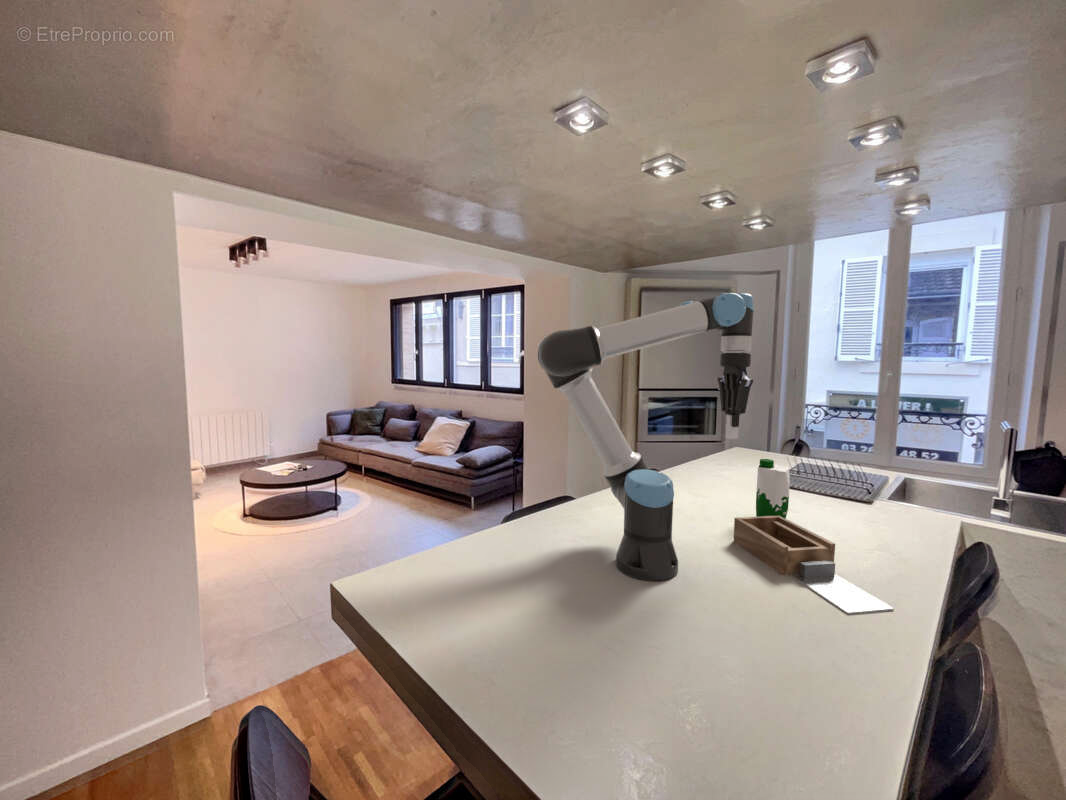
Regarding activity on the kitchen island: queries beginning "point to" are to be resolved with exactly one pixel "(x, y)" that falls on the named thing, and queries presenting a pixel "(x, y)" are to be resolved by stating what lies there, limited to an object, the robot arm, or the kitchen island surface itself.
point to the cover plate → (837, 588)
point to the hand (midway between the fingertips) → (731, 438)
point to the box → (781, 542)
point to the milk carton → (772, 489)
